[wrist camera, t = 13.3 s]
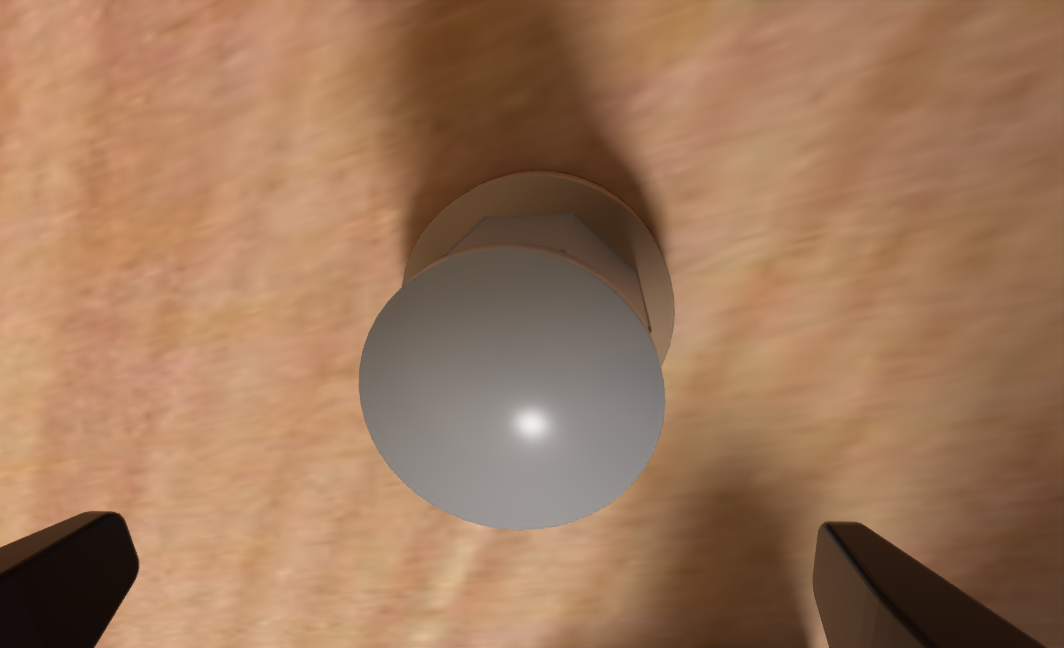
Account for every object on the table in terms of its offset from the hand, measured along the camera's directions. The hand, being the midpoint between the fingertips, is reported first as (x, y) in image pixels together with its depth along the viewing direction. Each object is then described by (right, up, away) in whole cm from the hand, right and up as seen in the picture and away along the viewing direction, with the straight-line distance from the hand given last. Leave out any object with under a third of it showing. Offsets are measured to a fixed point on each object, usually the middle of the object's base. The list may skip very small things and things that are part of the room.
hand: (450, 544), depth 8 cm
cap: (+1, +3, +9) cm, 9 cm away
